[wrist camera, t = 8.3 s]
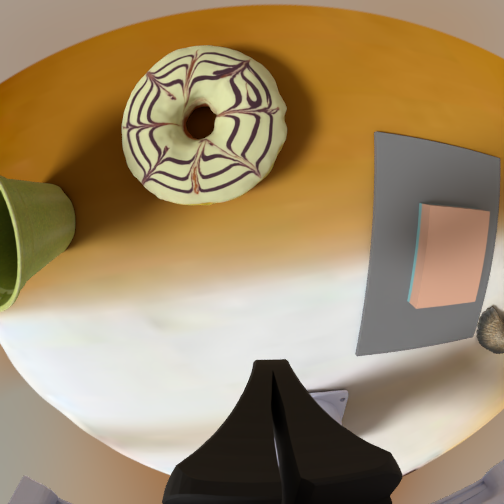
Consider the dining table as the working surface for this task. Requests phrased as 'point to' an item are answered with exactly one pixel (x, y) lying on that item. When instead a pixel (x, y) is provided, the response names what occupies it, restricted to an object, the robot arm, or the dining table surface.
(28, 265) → the plant pot
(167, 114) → the decorated donut
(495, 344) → the eagle figurine
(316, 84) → the dining table surface
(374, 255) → the mat
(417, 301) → the tile
